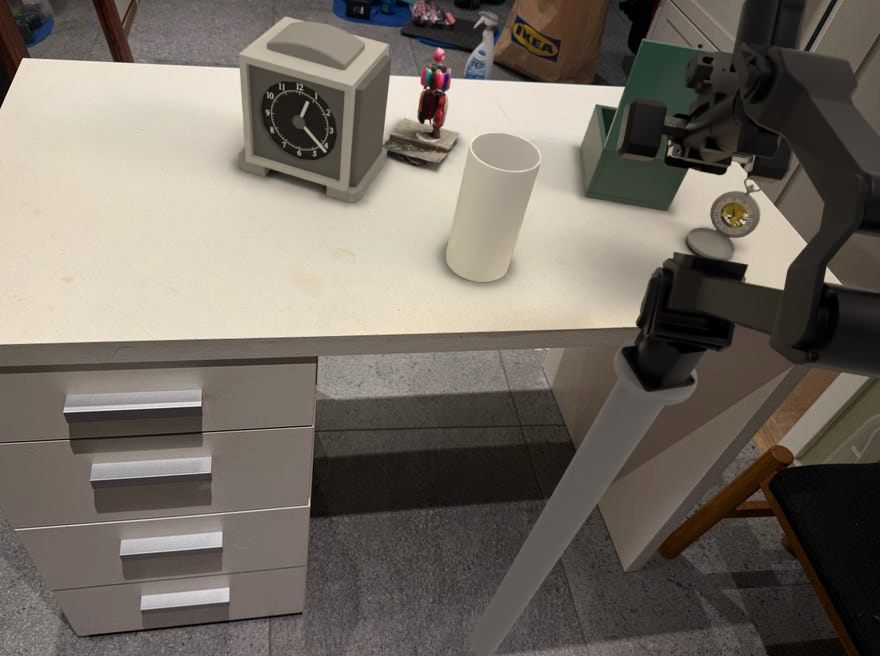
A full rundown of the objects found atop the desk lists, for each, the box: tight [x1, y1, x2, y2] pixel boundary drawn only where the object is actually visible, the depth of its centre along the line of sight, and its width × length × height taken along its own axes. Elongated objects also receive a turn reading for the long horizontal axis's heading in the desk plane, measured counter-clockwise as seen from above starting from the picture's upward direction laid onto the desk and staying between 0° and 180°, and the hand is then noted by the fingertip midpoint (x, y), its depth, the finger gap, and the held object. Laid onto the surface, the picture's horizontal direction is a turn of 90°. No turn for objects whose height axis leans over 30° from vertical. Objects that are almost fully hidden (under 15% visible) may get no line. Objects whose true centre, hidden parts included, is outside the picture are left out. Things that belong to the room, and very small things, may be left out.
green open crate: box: [579, 103, 690, 211], centre depth 100 cm, size 14×13×8 cm
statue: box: [382, 47, 461, 166], centre depth 98 cm, size 11×9×15 cm
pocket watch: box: [686, 177, 764, 261], centre depth 91 cm, size 8×8×10 cm
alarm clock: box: [237, 16, 393, 204], centre depth 89 cm, size 18×13×18 cm
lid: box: [604, 38, 717, 158], centre depth 88 cm, size 14×13×1 cm
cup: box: [445, 131, 542, 283], centre depth 80 cm, size 8×8×16 cm
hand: (674, 158), depth 82 cm, fingers closed
